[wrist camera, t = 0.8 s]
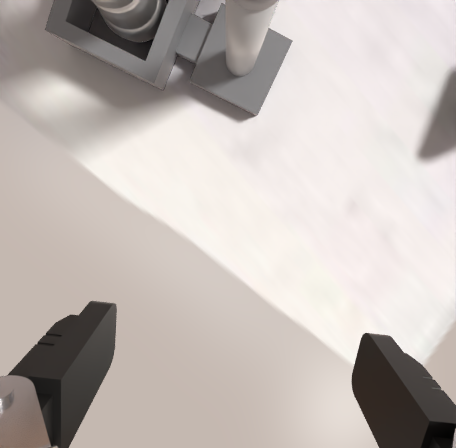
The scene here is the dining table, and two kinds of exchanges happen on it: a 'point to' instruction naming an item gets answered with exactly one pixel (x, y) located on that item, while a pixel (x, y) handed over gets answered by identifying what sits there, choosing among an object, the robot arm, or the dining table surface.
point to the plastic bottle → (132, 17)
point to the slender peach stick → (255, 4)
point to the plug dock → (191, 48)
